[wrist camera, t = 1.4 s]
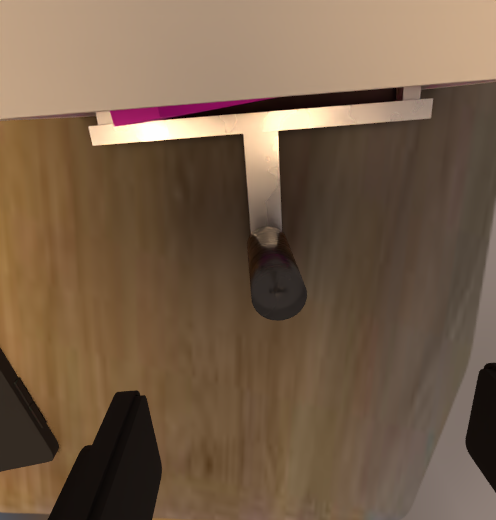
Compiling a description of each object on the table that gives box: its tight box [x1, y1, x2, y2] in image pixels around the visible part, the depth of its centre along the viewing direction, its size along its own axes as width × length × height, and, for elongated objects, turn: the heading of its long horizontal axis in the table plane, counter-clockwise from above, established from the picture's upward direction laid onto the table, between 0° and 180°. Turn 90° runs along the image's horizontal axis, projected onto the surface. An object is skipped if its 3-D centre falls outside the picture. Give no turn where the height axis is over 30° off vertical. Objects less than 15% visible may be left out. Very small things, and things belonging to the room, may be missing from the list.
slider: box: [88, 86, 433, 320], centre depth 18 cm, size 18×19×8 cm
